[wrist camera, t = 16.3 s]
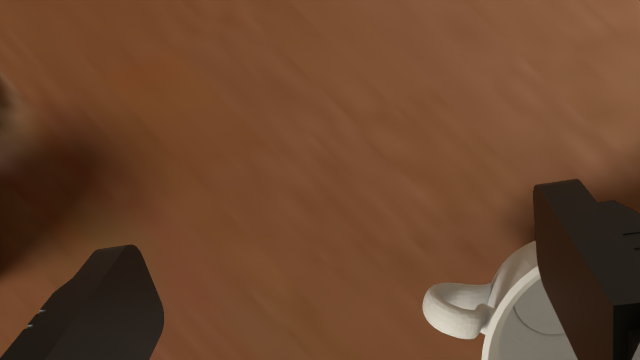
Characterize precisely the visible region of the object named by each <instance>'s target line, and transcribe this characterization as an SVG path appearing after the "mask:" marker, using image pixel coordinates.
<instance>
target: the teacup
mask: <svg viewBox="0 0 640 360" xmlns="http://www.w3.org/2000/svg"><path fill="white" fill-rule="evenodd" d="M474 309H475V310H474ZM423 312H424V315H425V317H426V319H427V320H428V322H429V323H430V324H431V325H432V326H433V327H435V328H436V329H438V330H439V331H441V332H443V333H445V334H448V335H450V336H454V337H457V338H462V339H474V338H476V337H477V336H478V334H479V333H480V332H481V333H483V334H484V335H486V336H485V341H484V345H483V351H482V360H578V359H577V357H576V355H575V353H574V351H573V349H572V347H571V344H570V342H569V340H568V338H567V336H566V334H565V332H564V330H563V327H562V325H561V323H560V321H559V319H558V317H557V315H556V313H555V310H554V308H553V306H552V304H551V302H550V300H549V298H548V296H547V293H546V291H545V289H544V287H543V284H542V281H541V277H540V274H539V269H538V263H537V255H536V240H535V241H533V242H531V243H528V244H526V245H524V246H523V247H521V248H519V249H518V250H516V251H515V252H514V253H513V254H511V255H510V256H509V257H508V258H507V259H506V260H505V261H504V262H503V263H502V265H501V266H500V267H499V269H498V270H497V272H496V274H495V276H494V278H493V279H492V282H491V283H488V284H483V285H470V284H461V283H439V284H436V285H434V286H432V287H430V289H429V290H428V291H427V292H426V295H425V297H424V301H423Z"/></svg>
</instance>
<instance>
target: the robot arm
mask: <svg viewBox="0 0 640 360" xmlns="http://www.w3.org/2000/svg"><path fill="white" fill-rule="evenodd" d="M533 203H534V221H535V238H536V255H537V263H538V269H539V274H540V277H541V281H542V284H543V287H544V289H545V291H546V293H547V296H548V298H549V300H550V302H551V304H552V306H553V308H554V310H555V313H556V315H557V317H558V319H559V321H560V323H561V325H562V327H563V330H564V332H565V334H566V336H567V338H568V340H569V342H570V344H571V347H572V349H573V351H574V353H575V355H576V357H577V359H578V360H640V214H639V213H638V212H636V211H634V210H632V209H630V208H628V207H626V206H624V205H622V204H620V203H618V202H616V201H607V202H599V203H597V202H596V200H595V199H594V198H593V197H592V195H591V194H590V193H589V192H588V190H587V189H586V188H585V187H584V185H583V184H582V183H581V182H580V180H578V179H572V180H566V181H559V182H552V183H546V184H539V185H535V186H534V190H533ZM39 311H40V313H39V314H36V315H35V316H34V317H33V319H32V320H31V321H30V322H29V324H28V325H27V326H28V328H27V329H24V330H23V331H22V332H21V333H20V335H19V336H18V337H17V338H16V340H15V341H14V342H13V343H12V344H11V346H10V347H9V348H8V349H7V351H6V352H5V353H4V354H3V355H2V357H1V358H0V360H149V359H150V357H151V354H152V352H153V350H154V348H155V346H156V344H157V342H158V340H159V338H160V336H161V333H162V330H163V326H164V311H163V306H162V303H161V300H160V298H159V295H158V293H157V291H156V288H155V286H154V283H153V281H152V278H151V276H150V274H149V271H148V269H147V266H146V264H145V261H144V259H143V256H142V254H141V252H140V251H139V249H138V248H137V247H136V246H134V245H124V246H118V247H111V248H104V249H98V250H96V251H94V252H93V253H92V255H91V256H90V257H89V259H88V260H87V261H86V262H85V264H84V265H83V266H82V267H81V269H80V270H79V271H78V272H77V274H76V275H75V276H74V277H73V278H72V279H71V280H69V281H68V282H67V283H66V284H64V285H63V286H62V287H60V288H59V289H58V290H57V291H55V292H54V293H53V294H52V295H51V297H50V298H49V299H48V300H47V302H46V303H45V304H44V305H43V306H42V308H41V309H40V310H39Z"/></svg>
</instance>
